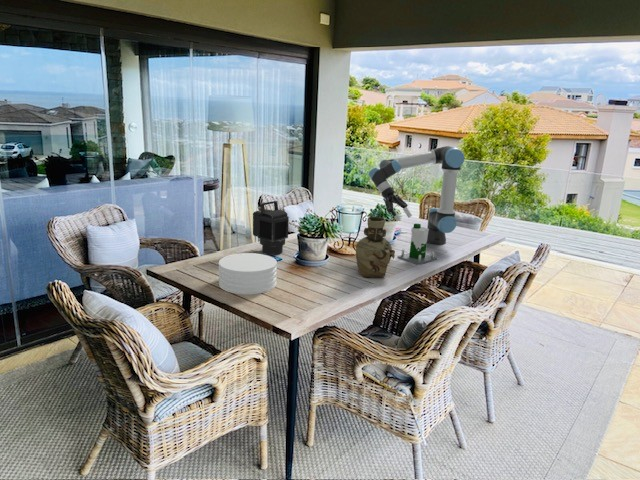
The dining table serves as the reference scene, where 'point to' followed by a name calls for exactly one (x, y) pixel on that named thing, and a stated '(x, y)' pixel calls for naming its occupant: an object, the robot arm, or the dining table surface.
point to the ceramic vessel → (374, 250)
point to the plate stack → (247, 273)
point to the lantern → (271, 228)
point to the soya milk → (418, 241)
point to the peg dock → (419, 260)
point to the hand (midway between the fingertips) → (404, 218)
